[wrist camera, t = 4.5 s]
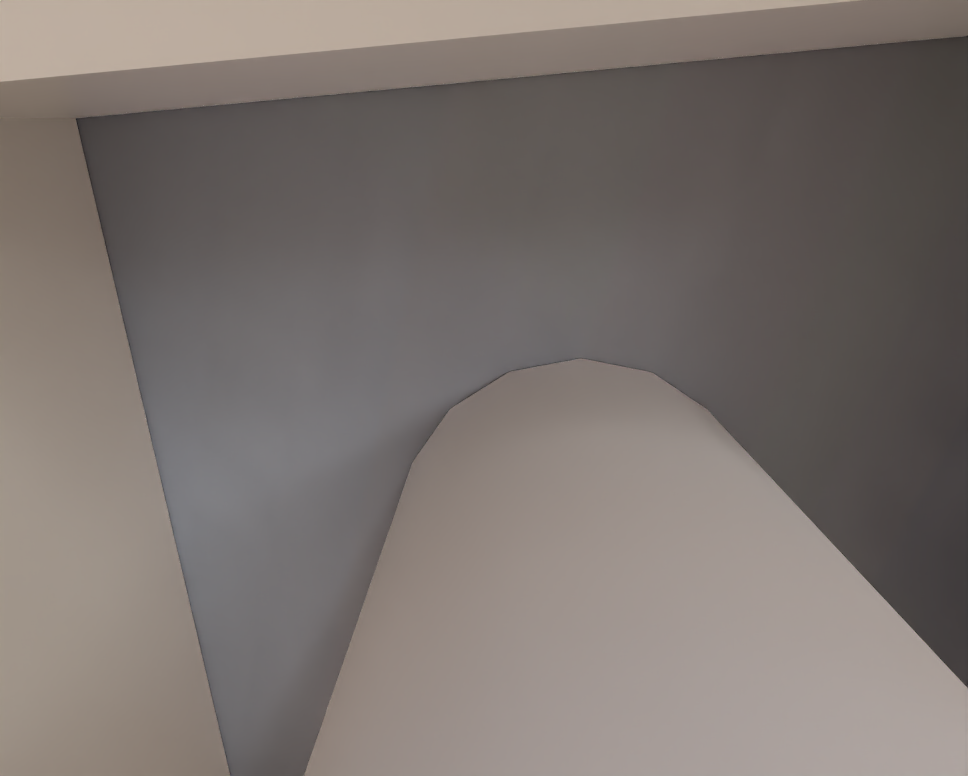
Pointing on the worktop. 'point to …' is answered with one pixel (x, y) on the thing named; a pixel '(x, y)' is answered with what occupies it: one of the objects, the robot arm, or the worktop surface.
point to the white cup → (622, 608)
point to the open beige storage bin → (101, 332)
